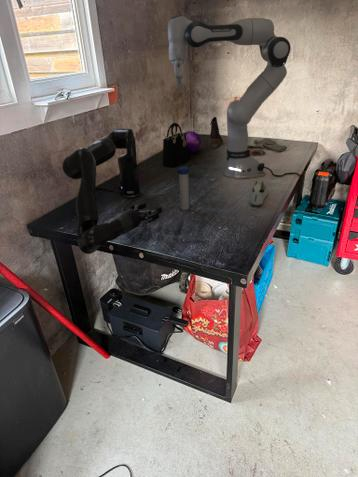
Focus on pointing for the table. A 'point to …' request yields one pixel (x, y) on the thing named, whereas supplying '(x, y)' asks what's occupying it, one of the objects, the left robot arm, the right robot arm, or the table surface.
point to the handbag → (175, 147)
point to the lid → (183, 170)
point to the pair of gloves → (267, 144)
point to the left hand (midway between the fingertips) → (153, 206)
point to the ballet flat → (258, 193)
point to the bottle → (184, 191)
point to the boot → (215, 133)
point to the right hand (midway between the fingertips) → (179, 86)
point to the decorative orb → (192, 141)
